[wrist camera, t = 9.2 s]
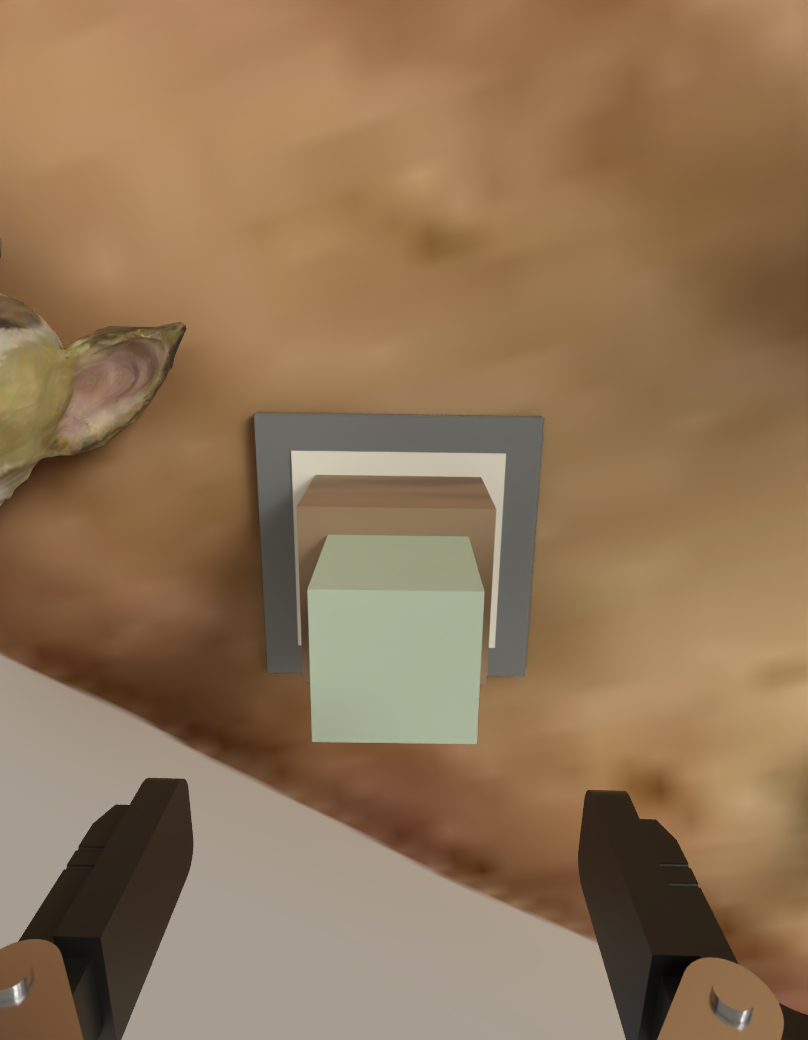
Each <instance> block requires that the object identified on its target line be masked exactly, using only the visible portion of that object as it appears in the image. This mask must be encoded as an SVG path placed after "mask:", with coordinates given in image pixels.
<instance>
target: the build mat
mask: <svg viewBox="0 0 808 1040" xmlns="http://www.w3.org/2000/svg"><path fill="white" fill-rule="evenodd" d="M254 424H255V443H256V462H257V481H258V500H259V520H260V539H261V558H262V577H263V596H264V615H265V634H266V654H267V673H302V645H301V617H300V588H299V560H298V531H297V505H298V503H299V502H300V500H301V498H302V497H303V495H304V493H305V492H306V490H307V488H308V487H309V485H310V483H311V482H312V480H313V478H314V477H315V475H372V476H444V477H481V478H482V480H483V482H484V484H485V486H486V488H487V490H488V493H489V495H490V497H491V499H492V501H493V503H494V505H495V507H496V525H495V543H494V561H493V579H492V597H491V615H490V633H489V651H488V669H487V676H525V670H526V656H527V643H528V629H529V616H530V602H531V589H532V575H533V562H534V548H535V535H536V521H537V507H538V494H539V480H540V467H541V453H542V440H543V426H544V418H543V417H542V416H484V415H411V414H338V413H266V412H257V413H255V414H254Z"/></svg>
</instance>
